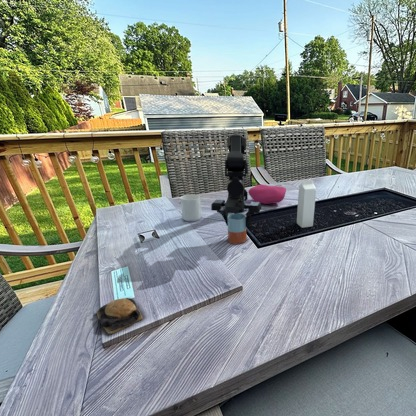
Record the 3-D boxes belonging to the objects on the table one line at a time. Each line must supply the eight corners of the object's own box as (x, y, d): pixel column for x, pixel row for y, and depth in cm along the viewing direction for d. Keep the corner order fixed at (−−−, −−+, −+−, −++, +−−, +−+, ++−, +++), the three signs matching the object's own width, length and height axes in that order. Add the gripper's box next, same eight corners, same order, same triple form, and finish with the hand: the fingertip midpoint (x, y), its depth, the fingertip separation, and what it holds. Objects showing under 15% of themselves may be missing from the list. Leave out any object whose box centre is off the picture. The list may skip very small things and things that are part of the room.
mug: (203, 220, 125) (201, 198, 121) (183, 223, 121) (181, 200, 118) (199, 212, 135) (198, 191, 131) (181, 214, 132) (179, 193, 128)
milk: (313, 226, 125) (317, 181, 118) (301, 228, 123) (305, 182, 115) (307, 221, 130) (310, 178, 123) (296, 223, 128) (299, 179, 120)
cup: (236, 234, 113) (235, 223, 111) (249, 238, 110) (249, 227, 108) (224, 240, 107) (223, 229, 105) (238, 245, 103) (238, 234, 102)
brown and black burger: (94, 313, 66) (91, 301, 65) (130, 298, 72) (128, 287, 71) (106, 337, 59) (102, 324, 58) (145, 318, 65) (143, 306, 64)
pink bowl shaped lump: (244, 200, 157) (243, 184, 154) (266, 194, 170) (266, 179, 167) (270, 210, 143) (271, 193, 140) (293, 203, 156) (293, 187, 153)
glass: (235, 223, 111) (235, 211, 109) (249, 227, 108) (249, 215, 106) (223, 229, 105) (223, 217, 103) (238, 234, 102) (238, 221, 100)
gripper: (205, 193, 94) (207, 232, 99) (256, 196, 93) (256, 236, 98) (215, 185, 104) (216, 221, 109) (261, 188, 103) (261, 224, 109)
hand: (237, 226), depth 106 cm, fingers closed on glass, 7 cm apart
